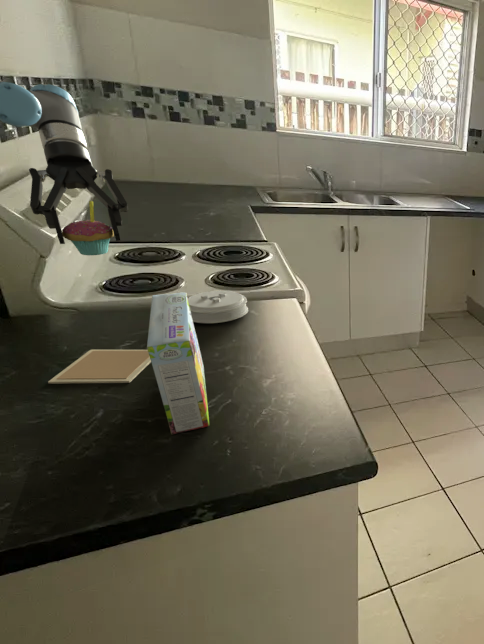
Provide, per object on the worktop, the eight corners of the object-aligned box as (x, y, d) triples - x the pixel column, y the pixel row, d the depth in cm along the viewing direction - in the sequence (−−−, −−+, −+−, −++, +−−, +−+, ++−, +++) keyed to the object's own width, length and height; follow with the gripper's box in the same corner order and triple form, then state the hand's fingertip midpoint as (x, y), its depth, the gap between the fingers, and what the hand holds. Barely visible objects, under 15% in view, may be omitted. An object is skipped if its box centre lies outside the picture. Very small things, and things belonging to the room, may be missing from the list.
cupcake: (117, 246, 110) (103, 193, 106) (119, 256, 105) (106, 200, 100) (68, 249, 105) (51, 194, 100) (68, 259, 100) (51, 201, 95)
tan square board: (48, 383, 79) (47, 381, 79) (91, 351, 90) (90, 348, 90) (129, 382, 82) (129, 380, 82) (162, 351, 92) (161, 349, 92)
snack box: (168, 371, 86) (150, 294, 80) (204, 366, 89) (189, 290, 83) (168, 436, 70) (144, 346, 64) (212, 427, 73) (193, 339, 67)
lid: (180, 311, 110) (176, 291, 107) (241, 302, 117) (238, 283, 115) (191, 331, 101) (186, 309, 99) (255, 320, 109) (252, 300, 107)
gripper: (127, 163, 115) (151, 244, 111) (3, 160, 101) (25, 252, 97) (125, 141, 109) (150, 226, 105) (-7, 136, 96) (16, 232, 92)
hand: (90, 238), depth 101 cm, fingers closed on cupcake, 8 cm apart
